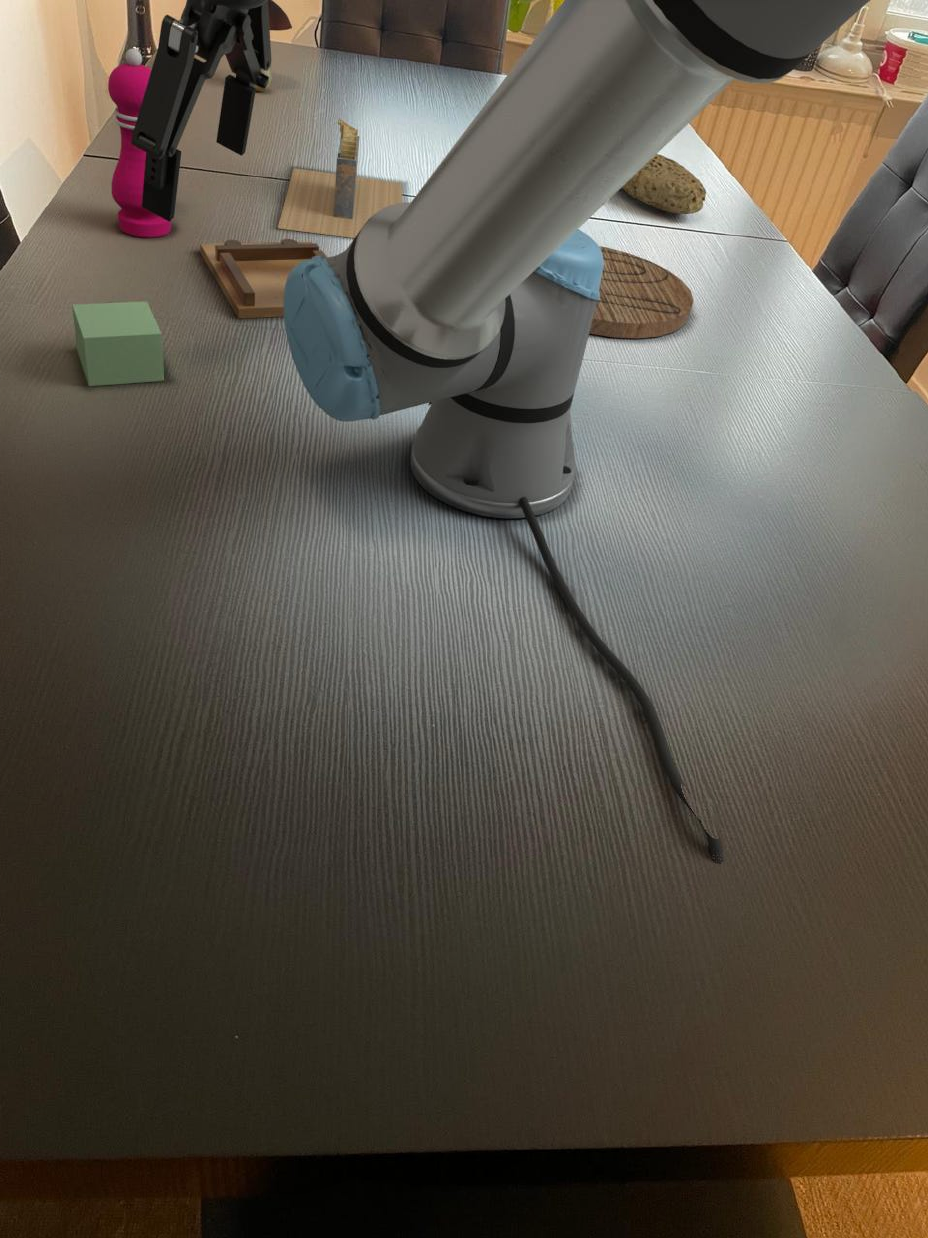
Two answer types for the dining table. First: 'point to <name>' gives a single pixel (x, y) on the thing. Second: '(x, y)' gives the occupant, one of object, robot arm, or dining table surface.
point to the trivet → (638, 298)
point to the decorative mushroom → (276, 22)
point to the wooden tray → (256, 272)
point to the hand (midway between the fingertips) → (195, 178)
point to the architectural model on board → (336, 195)
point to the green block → (118, 343)
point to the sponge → (667, 186)
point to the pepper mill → (132, 150)
